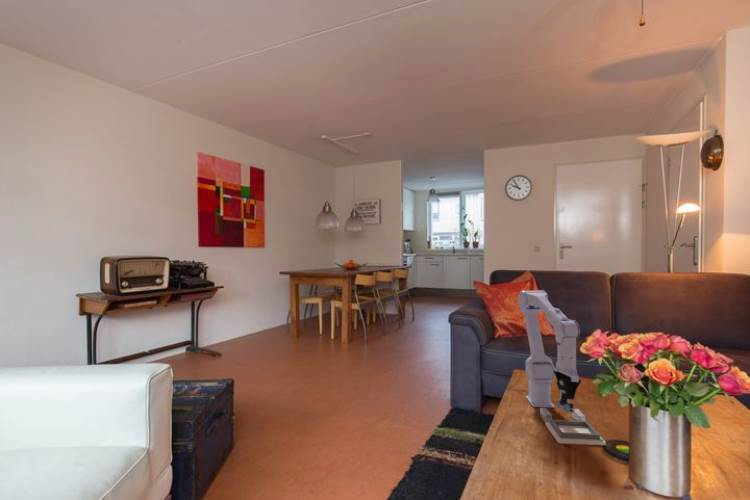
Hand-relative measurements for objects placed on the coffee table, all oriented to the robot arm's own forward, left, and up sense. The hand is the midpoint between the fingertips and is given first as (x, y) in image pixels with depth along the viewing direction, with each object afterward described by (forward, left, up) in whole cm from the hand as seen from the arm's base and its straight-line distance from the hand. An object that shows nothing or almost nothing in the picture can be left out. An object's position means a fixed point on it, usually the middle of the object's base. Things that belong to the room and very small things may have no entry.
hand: (566, 395), depth 131 cm
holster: (-4, 0, -10) cm, 11 cm away
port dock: (+6, 0, -10) cm, 12 cm away
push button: (0, 0, -5) cm, 5 cm away
